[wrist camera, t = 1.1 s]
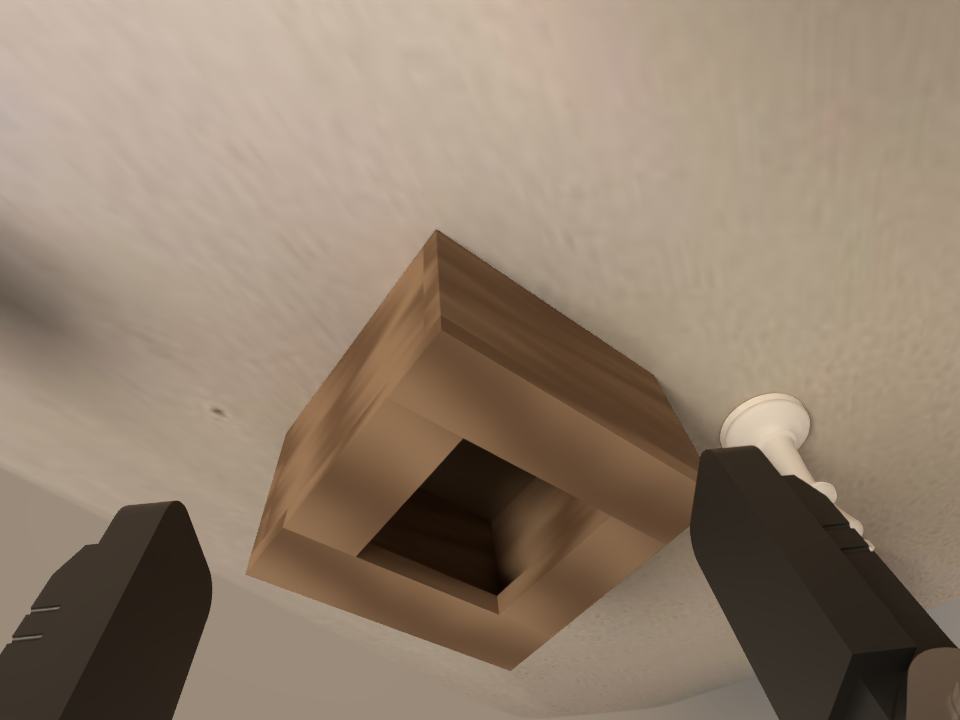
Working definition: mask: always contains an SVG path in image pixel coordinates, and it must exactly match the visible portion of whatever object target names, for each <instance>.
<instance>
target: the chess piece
mask: <svg viewBox="0 0 960 720" xmlns="http://www.w3.org/2000/svg"><path fill="white" fill-rule="evenodd" d="M809 429H810V419H809V415H808V413H807V412H806V410H805V408H804V406H803V405H802V403H801V402H800V401H799V400H798V399H796V398H795V397H793V396H790V395H787V394H782V393H770V394H764V395H760V396H757V397H754V398H752V399H750V400H748V401H746V402H744V403H743V404H741V405H740V406H738V407H737V408H736V409H735V410H734V411H733V412H732V413H731V414H730V415H729V416H728V417H727V419H726V420H725V422H724V424H723V426H722V429H721V432H720V442H721V445H722V448H728V447H739V446H749V445H754V446H756V447H758V448H759V449H760V450H761V451H762V452H763V453H764V455H765V456H766V457H767V458H768V460H769V461H770V462H771V463H772V465H773V466H774V467H775V468H776V470H777V471H778V472H779V473H780V474H781V475H782V476H785V475H795V476H797V477H798V478H800V479H802V480H803V481H805V482H806V483H808V484H809V485H811V486H812V487H814V488H815V489H817V490H818V491H820V492H821V493H823V494H824V495H826V496H827V497H828V498H829V499H830V500H831V502H832V503H833V504H834V503H835V501H836V498H837V493H836V490H835V488H834V486H833V485H832V484H830V483H827V482H815V481H814V479H813V478H812V476H811V474H810V473H809V471H808V469H807V467H806V466H805V464H804V462H803V460H802V458H801V457H800V455H799V453H798V451H797V449H798V448H799V447H800V446H801V445H802V444H803V442H804V441H805V439H806V438H807V435H808V433H809ZM835 506H836V505H835ZM836 507H837V506H836ZM837 509H838V510H839V511H840V512H841V513H842V514H843V516H844V517H845V518H846V519H847V520H848V521H849V523H850V527H851V528H855V530H856V531H857V532H858V533H859V534H860V535H861V537H862V535H863V526H862V524H861V523H860V522H859V521H858V520H857V519H855V518H854V517H852V516H851V515H849V514H847V513H845V512H844V511H843V510H841V509H840V508H839V507H837ZM865 541H866V542H867V544H868V545H869V549H870V551H871V552H872V551H873V550H874V549H875V547H874V546H873V545H872V543H871V542H870V541H869V540H865Z"/></svg>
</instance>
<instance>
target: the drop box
mask: <svg viewBox="0 0 960 720" xmlns="http://www.w3.org/2000/svg"><path fill="white" fill-rule="evenodd" d="M699 461H700V457H699V455H698V453H697V451H696V449H695V448H694V446H693V444H692V442H691V441H690V439H689V437H688V435H687V433H686V432H685V430H684V428H683V426H682V425H681V423H680V421H679V419H678V418H677V416H676V414H675V412H674V410H673V409H672V407H671V405H670V403H669V402H668V400H667V398H666V396H665V394H664V393H663V391H662V389H661V387H660V386H659V384H658V382H657V380H656V379H655V377H654V375H653V374H651V373H650V372H648V371H647V370H645V369H644V368H642V367H641V366H639V365H638V364H636V363H635V362H633V361H632V360H630V359H629V358H627V357H626V356H624V355H623V354H621V353H620V352H618V351H617V350H615V349H614V348H612V347H611V346H609V345H608V344H606V343H605V342H603V341H602V340H600V339H599V338H597V337H596V336H594V335H593V334H591V333H590V332H588V331H587V330H585V329H584V328H582V327H581V326H580V325H578V324H577V323H575V322H574V321H572V320H571V319H569V318H568V317H566V316H565V315H563V314H562V313H560V312H559V311H557V310H556V309H554V308H553V307H551V306H550V305H548V304H547V303H545V302H544V301H542V300H541V299H539V298H538V297H536V296H535V295H533V294H532V293H530V292H529V291H527V290H526V289H524V288H523V287H521V286H520V285H518V284H517V283H515V282H514V281H512V280H511V279H509V278H508V277H506V276H505V275H503V274H502V273H500V272H499V271H498V270H496V269H495V268H493V267H492V266H490V265H489V264H487V263H486V262H484V261H483V260H481V259H480V258H478V257H477V256H475V255H474V254H472V253H471V252H469V251H468V250H466V249H465V248H463V247H462V246H460V245H459V244H457V243H456V242H454V241H453V240H451V239H450V238H448V237H447V236H445V235H444V234H442V233H441V232H439V231H438V230H435V231H434V233H433V234H432V236H431V237H430V238H429V240H428V241H427V242H426V244H425V245H424V246H423V248H422V249H421V251H420V252H419V253H418V255H417V256H416V257H415V259H414V260H413V262H412V263H411V264H410V266H409V267H408V268H407V270H406V271H405V272H404V274H403V275H402V277H401V278H400V279H399V281H398V282H397V283H396V285H395V286H394V287H393V289H392V290H391V292H390V293H389V294H388V296H387V297H386V298H385V300H384V301H383V303H382V304H381V305H380V307H379V308H378V309H377V311H376V312H375V313H374V315H373V316H372V318H371V319H370V320H369V322H368V323H367V324H366V326H365V327H364V328H363V330H362V331H361V333H360V334H359V335H358V337H357V338H356V339H355V341H354V342H353V344H352V345H351V346H350V348H349V349H348V350H347V352H346V353H345V354H344V356H343V357H342V359H341V360H340V361H339V363H338V364H337V365H336V367H335V368H334V370H333V371H332V372H331V374H330V375H329V376H328V378H327V379H326V380H325V382H324V383H323V385H322V386H321V387H320V389H319V390H318V391H317V393H316V394H315V395H314V397H313V398H312V400H311V401H310V402H309V404H308V405H307V406H306V408H305V409H304V411H303V412H302V413H301V415H300V416H299V417H298V419H297V420H296V421H295V423H294V424H293V426H292V427H291V428H290V430H289V431H288V432H287V434H286V436H285V440H284V443H283V446H282V450H281V453H280V457H279V460H278V464H277V467H276V471H275V474H274V477H273V481H272V484H271V488H270V491H269V495H268V498H267V502H266V505H265V508H264V512H263V515H262V519H261V522H260V526H259V529H258V533H257V536H256V539H255V543H254V546H253V550H252V553H251V557H250V560H249V564H248V567H247V570H246V575H248V576H251V577H254V578H257V579H259V580H262V581H265V582H268V583H270V584H273V585H276V586H279V587H281V588H284V589H287V590H290V591H292V592H295V593H298V594H301V595H303V596H306V597H309V598H312V599H314V600H317V601H320V602H323V603H325V604H328V605H331V606H334V607H336V608H339V609H342V610H345V611H347V612H350V613H353V614H356V615H358V616H361V617H364V618H367V619H369V620H372V621H375V622H378V623H380V624H383V625H386V626H389V627H391V628H394V629H397V630H399V631H402V632H405V633H408V634H410V635H413V636H416V637H419V638H421V639H424V640H427V641H430V642H432V643H435V644H438V645H441V646H443V647H446V648H449V649H452V650H454V651H457V652H460V653H463V654H465V655H468V656H471V657H474V658H476V659H479V660H482V661H485V662H487V663H490V664H493V665H496V666H498V667H501V668H504V669H507V670H509V671H511V670H512V669H514V668H515V667H516V666H517V665H518V664H520V663H521V662H522V661H523V660H525V659H526V658H527V657H528V656H530V655H531V654H532V653H533V652H534V651H536V650H537V649H538V648H539V647H541V646H542V645H543V644H544V643H546V642H547V641H548V640H549V639H551V638H552V637H553V636H554V635H555V634H557V633H558V632H559V631H560V630H562V629H563V628H564V627H565V626H567V625H568V624H569V623H570V622H571V621H573V620H574V619H575V618H576V617H578V616H579V615H580V614H581V613H583V612H584V611H585V610H586V609H587V608H589V607H590V606H591V605H592V604H594V603H595V602H596V601H597V600H599V599H600V598H601V597H602V596H604V595H605V594H606V593H607V592H608V591H610V590H611V589H612V588H613V587H615V586H616V585H617V584H618V583H620V582H621V581H622V580H623V579H624V578H626V577H627V576H628V575H629V574H631V573H632V572H633V571H634V570H636V569H637V568H638V567H639V566H640V565H642V564H643V563H644V562H645V561H647V560H648V559H649V558H650V557H652V556H653V555H654V554H655V553H657V552H658V551H659V550H660V549H661V548H663V547H664V546H665V545H666V544H668V543H669V542H670V541H671V540H673V539H674V538H675V537H676V536H677V535H679V534H680V533H681V532H682V531H684V530H685V529H686V528H687V527H689V526H690V520H691V513H692V506H693V500H694V493H695V487H696V480H697V473H698V467H699Z"/></svg>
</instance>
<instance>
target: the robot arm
mask: <svg viewBox="0 0 960 720" xmlns="http://www.w3.org/2000/svg"><path fill="white" fill-rule="evenodd" d="M690 535H691V542H692V546H693V550H694V554H695V556H696V559H697V561H698V564H699V566H700V567H701V569H702V571H703V573H704V575H705V577H706V579H707V581H708V583H709V585H710V587H711V589H712V591H713V593H714V595H715V596H716V598H717V600H718V602H719V604H720V606H721V608H722V610H723V612H724V614H725V616H726V618H727V620H728V622H729V624H730V625H731V627H732V629H733V631H734V633H735V635H736V637H737V639H738V641H739V643H740V645H741V647H742V649H743V651H744V653H745V655H746V656H747V658H748V660H749V662H750V664H751V666H752V668H753V670H754V672H755V674H756V676H757V678H758V680H759V682H760V684H761V685H762V687H763V689H764V691H765V693H766V695H767V697H768V699H769V701H770V703H771V705H772V707H773V709H774V711H775V712H776V714H777V716H778V718H779V720H960V649H959V648H958V647H957V646H956V645H955V644H954V643H953V642H952V641H951V640H950V639H949V638H948V637H947V636H946V634H945V633H944V632H943V631H942V630H941V629H940V628H939V626H938V625H937V624H936V623H935V622H934V620H933V619H932V618H931V617H930V616H929V615H928V614H927V612H926V611H925V610H924V609H923V608H922V606H921V605H920V604H919V603H918V602H917V601H916V599H915V598H914V597H913V596H912V595H911V594H910V592H909V591H908V590H907V589H906V588H905V587H904V585H903V584H902V583H901V582H900V581H899V580H898V578H897V577H896V576H895V575H894V574H893V573H892V571H891V570H890V569H889V568H888V567H887V566H886V564H885V563H884V562H883V561H882V560H881V559H880V558H879V556H878V555H877V554H876V553H875V552H874V551H872V552H871V551H870V549H869V545H868V544H867V542H866V541H865V540H864V539H863V538H862V537H861V535H860V534H859V533H858V532H857V531H856V530H855V528H851V527H850V523H849V521H848V520H847V519H846V518H845V517H844V516H843V514H842V513H841V512H840V511H839V510H838V509H837V507H836V506H835V505H834V504H833V503H832V502H831V500H830V499H829V498H828V497H827V496H826V495H824V494H823V493H821V492H820V491H818V490H817V489H815V488H814V487H812V486H811V485H809V484H808V483H806V482H805V481H803V480H802V479H800V478H798V477H797V476H795V475H785V476H781V475H780V473H779V472H778V471H777V470H776V468H775V467H774V466H773V465H772V463H771V462H770V461H769V460H768V458H767V457H766V456H765V455H764V453H763V452H762V451H761V450H760V449H759V448H758V447H756V446H754V445H749V446H739V447H728V448H718V449H708V450H705V451H704V452H703V453H702V454H701V457H700V461H699V467H698V473H697V480H696V487H695V493H694V500H693V506H692V513H691V520H690ZM211 600H212V580H211V574H210V570H209V567H208V565H207V562H206V559H205V557H204V554H203V552H202V549H201V546H200V544H199V541H198V538H197V536H196V533H195V530H194V528H193V525H192V522H191V520H190V517H189V514H188V512H187V509H186V507H185V506H184V505H183V504H182V503H181V502H180V501H168V502H158V503H148V504H138V505H128V506H124V507H123V508H121V509H120V510H119V511H118V513H117V514H116V515H115V517H114V519H113V520H112V522H111V524H110V525H109V527H108V529H107V530H106V532H105V534H104V535H103V537H102V538H101V540H100V542H99V544H92V545H85V546H84V547H83V548H82V549H81V550H80V551H79V552H78V553H76V554H75V555H74V556H73V557H72V558H71V559H70V560H69V561H67V562H66V563H65V564H64V565H63V566H62V567H61V568H60V569H58V570H57V571H56V572H55V573H54V574H53V575H52V576H51V578H50V579H49V581H48V582H47V584H46V586H45V587H44V589H43V590H42V592H41V593H40V595H39V596H38V598H37V599H36V601H35V602H34V604H33V605H32V607H31V614H30V615H26V616H25V618H24V619H23V621H22V622H21V624H20V625H19V627H18V628H17V630H16V631H15V633H14V635H13V636H12V637H13V640H12V643H10V644H7V645H6V647H5V648H4V650H3V651H2V653H1V654H0V720H172V718H173V715H174V712H175V709H176V706H177V703H178V701H179V698H180V695H181V692H182V689H183V686H184V683H185V680H186V678H187V675H188V672H189V669H190V666H191V663H192V661H193V658H194V655H195V652H196V649H197V646H198V643H199V641H200V637H201V635H202V632H203V629H204V626H205V623H206V621H207V618H208V615H209V611H210V607H211Z"/></svg>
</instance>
